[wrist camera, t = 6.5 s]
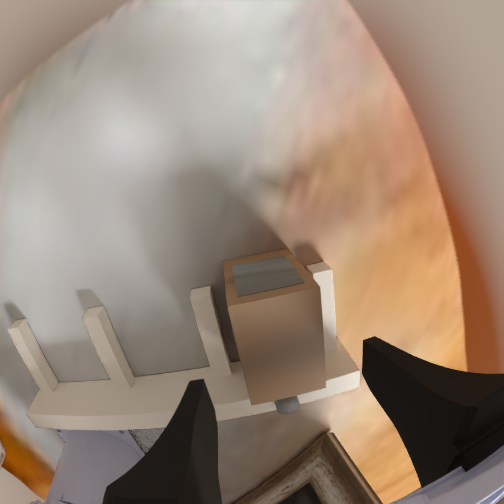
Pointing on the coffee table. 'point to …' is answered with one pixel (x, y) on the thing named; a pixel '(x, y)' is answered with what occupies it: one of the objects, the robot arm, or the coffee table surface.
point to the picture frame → (316, 479)
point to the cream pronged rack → (168, 374)
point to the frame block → (276, 325)
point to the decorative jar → (2, 453)
